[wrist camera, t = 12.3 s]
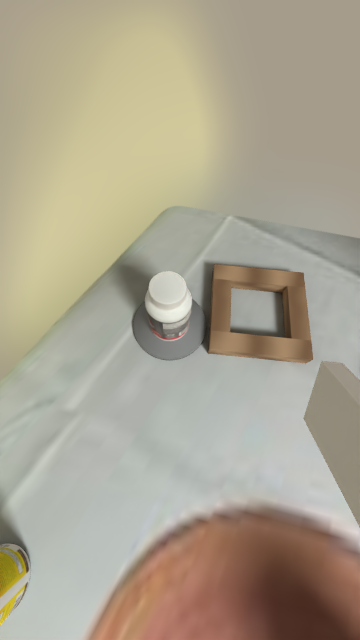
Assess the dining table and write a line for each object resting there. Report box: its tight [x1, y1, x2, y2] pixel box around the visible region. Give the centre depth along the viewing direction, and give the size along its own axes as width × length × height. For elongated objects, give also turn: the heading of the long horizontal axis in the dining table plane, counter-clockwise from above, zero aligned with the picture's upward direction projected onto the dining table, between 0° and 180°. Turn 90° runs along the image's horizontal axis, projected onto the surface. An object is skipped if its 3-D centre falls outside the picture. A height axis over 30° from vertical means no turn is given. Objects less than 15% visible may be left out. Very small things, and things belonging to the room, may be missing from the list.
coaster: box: [133, 299, 206, 360], centre depth 36 cm, size 10×10×1 cm
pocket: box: [208, 264, 313, 363], centre depth 36 cm, size 13×13×2 cm
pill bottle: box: [145, 271, 192, 341], centre depth 31 cm, size 5×5×10 cm
